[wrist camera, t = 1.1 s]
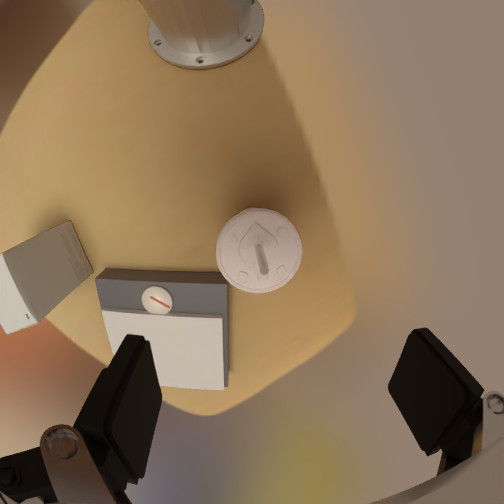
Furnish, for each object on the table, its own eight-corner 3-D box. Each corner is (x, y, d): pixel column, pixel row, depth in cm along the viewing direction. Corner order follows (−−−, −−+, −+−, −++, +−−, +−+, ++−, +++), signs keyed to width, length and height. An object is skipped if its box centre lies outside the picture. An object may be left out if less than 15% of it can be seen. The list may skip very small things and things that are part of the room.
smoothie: (279, 190, 28) (316, 216, 14) (285, 249, 30) (321, 317, 17) (217, 199, 28) (198, 233, 14) (227, 257, 30) (220, 332, 16)
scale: (105, 268, 29) (92, 281, 26) (228, 272, 30) (227, 287, 27) (126, 363, 34) (118, 380, 30) (228, 371, 35) (228, 391, 31)
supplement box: (71, 218, 27) (2, 251, 15) (95, 272, 30) (39, 326, 18) (37, 239, 28) (-26, 274, 16) (59, 287, 30) (6, 337, 18)
